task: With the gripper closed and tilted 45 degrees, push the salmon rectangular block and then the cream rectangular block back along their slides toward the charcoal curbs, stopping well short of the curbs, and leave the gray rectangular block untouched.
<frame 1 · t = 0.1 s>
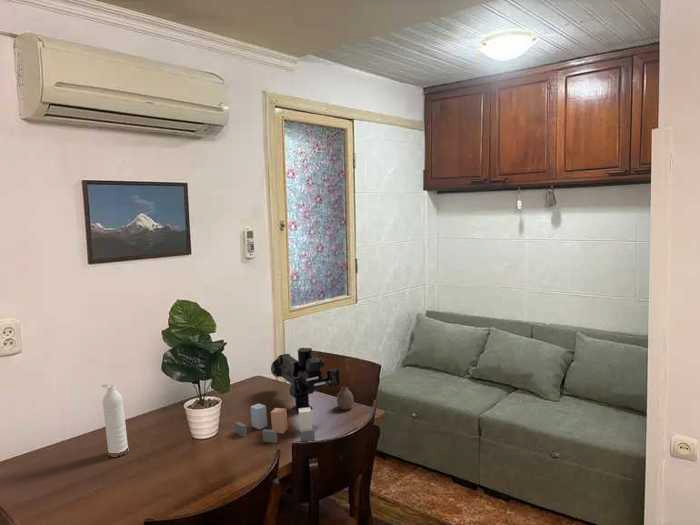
hand: (325, 387, 196), 17 cm above the table, tool horizontal, fingers open, 9 cm apart
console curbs: (280, 431, 200), on the table
cream rectangular block: (305, 420, 199), point 4 cm above the table, slide at 0.0 cm
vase: (345, 408, 219), on the table
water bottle: (117, 453, 189), on the table
gray rectangular block: (258, 416, 204), point 4 cm above the table, slide at 0.0 cm
salmon rectangular block: (279, 420, 199), point 4 cm above the table, slide at 0.0 cm
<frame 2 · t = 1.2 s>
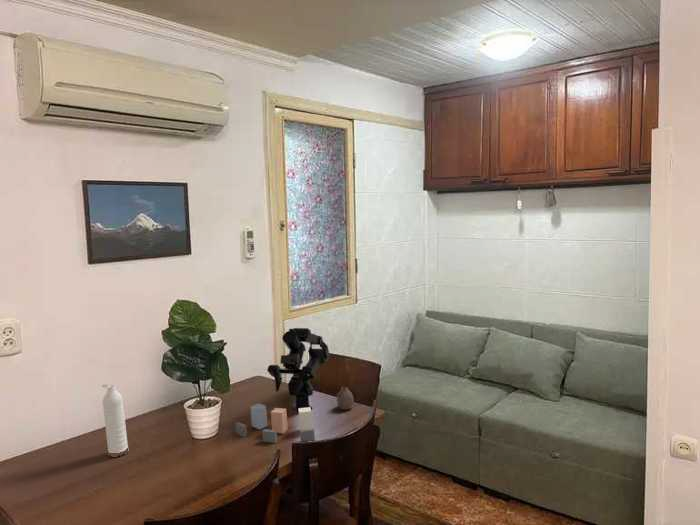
hand: (286, 391, 205), 13 cm above the table, tool tilted 45°, fingers open, 8 cm apart
nothing on the table moved.
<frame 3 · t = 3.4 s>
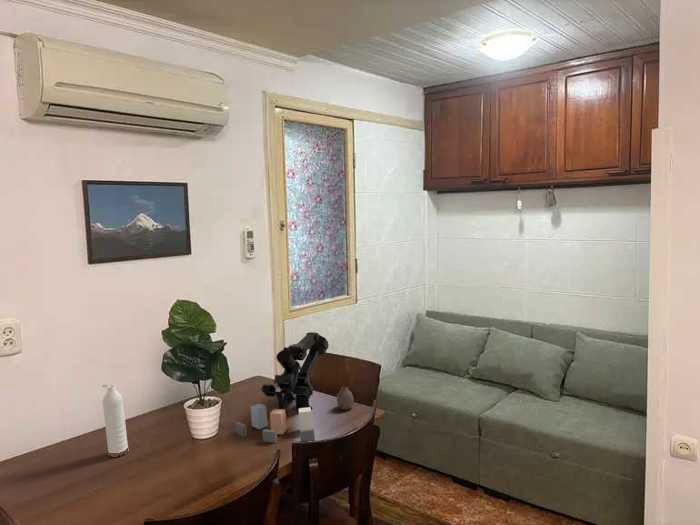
hand: (280, 412, 200), 7 cm above the table, tool tilted 45°, fingers closed, pressing on salmon rectangular block
salmon rectangular block: (278, 421, 199), point 4 cm above the table, slide at 0.9 cm, touching gripper
everything else where it was.
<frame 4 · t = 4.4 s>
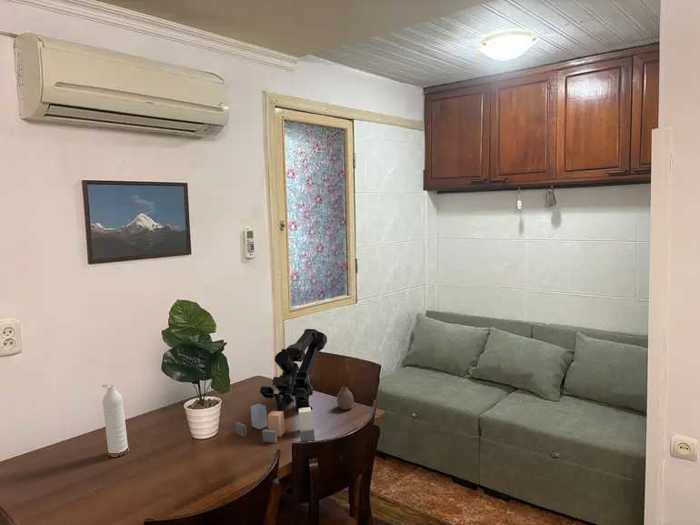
hand: (278, 414, 199), 7 cm above the table, tool tilted 45°, fingers closed
salmon rectangular block: (276, 423, 197), point 4 cm above the table, slide at 2.7 cm
everything else where it was.
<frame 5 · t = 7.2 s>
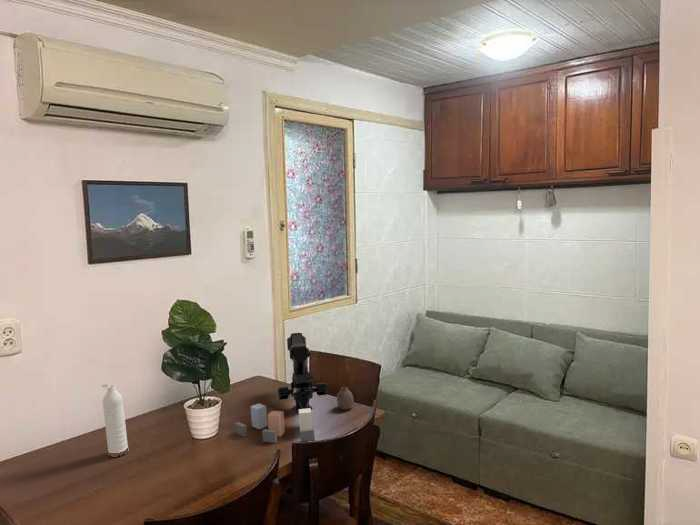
hand: (304, 412, 200), 7 cm above the table, tool tilted 45°, fingers closed, pressing on cream rectangular block
cream rectangular block: (305, 421, 198), point 4 cm above the table, slide at 0.9 cm, touching gripper
everything else where it was.
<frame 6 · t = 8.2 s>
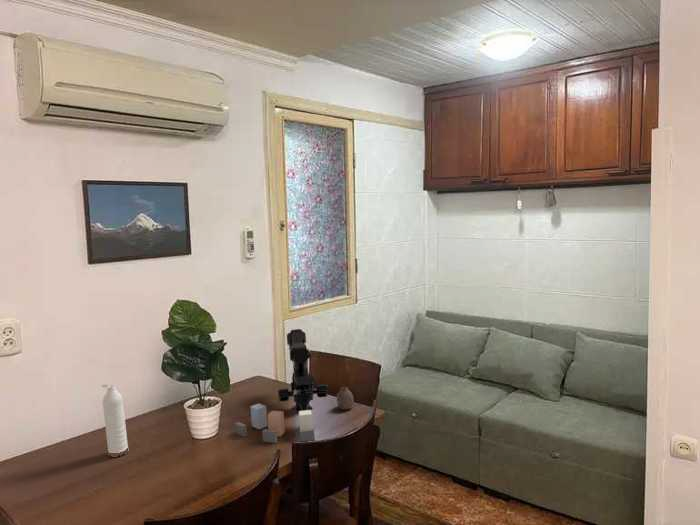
hand: (304, 414, 198), 7 cm above the table, tool tilted 45°, fingers closed
cream rectangular block: (305, 422, 196), point 4 cm above the table, slide at 2.7 cm
everything else where it was.
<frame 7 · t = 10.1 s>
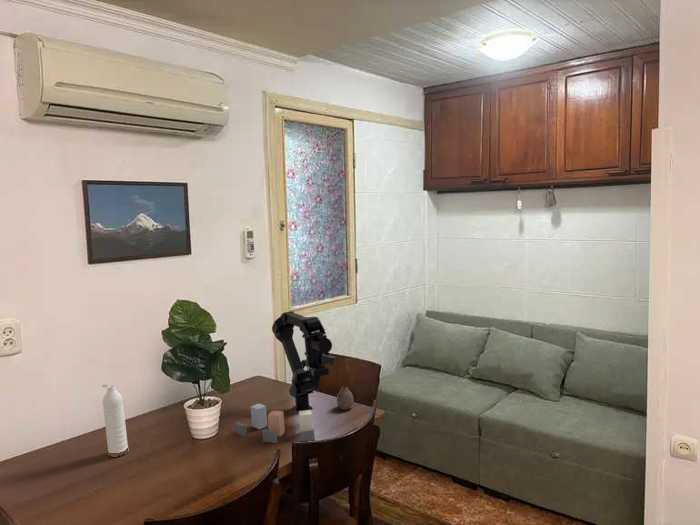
hand: (316, 388, 209), 12 cm above the table, tool pointing down, fingers closed
nothing on the table moved.
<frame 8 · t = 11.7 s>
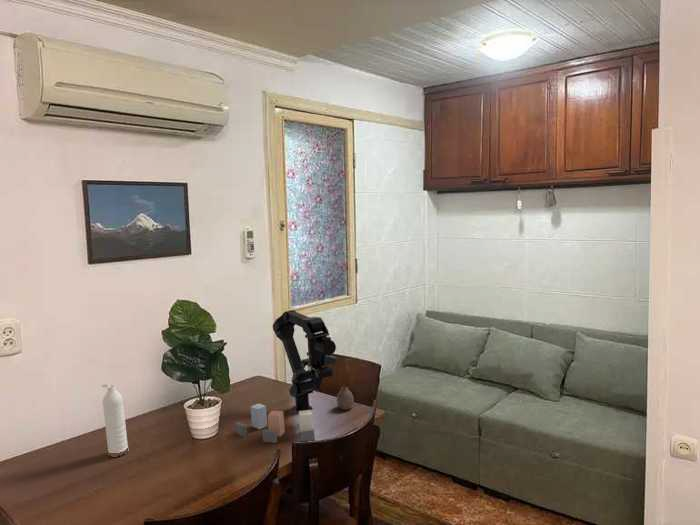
hand: (317, 388, 209), 12 cm above the table, tool pointing down, fingers closed
nothing on the table moved.
at the end: salmon rectangular block slide at 2.7 cm; cream rectangular block slide at 2.7 cm; gray rectangular block slide at 0.0 cm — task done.
